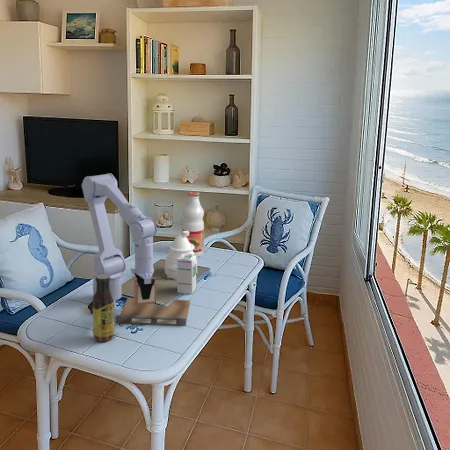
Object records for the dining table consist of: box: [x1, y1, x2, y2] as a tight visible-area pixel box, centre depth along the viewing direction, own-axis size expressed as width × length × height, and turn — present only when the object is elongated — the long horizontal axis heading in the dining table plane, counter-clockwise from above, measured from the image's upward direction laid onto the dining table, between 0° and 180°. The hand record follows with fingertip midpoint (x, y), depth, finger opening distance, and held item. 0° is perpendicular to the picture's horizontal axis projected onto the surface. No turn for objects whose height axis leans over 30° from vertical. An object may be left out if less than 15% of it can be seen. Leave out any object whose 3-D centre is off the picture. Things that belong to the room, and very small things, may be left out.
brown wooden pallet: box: [115, 297, 191, 327], centre depth 164 cm, size 22×18×3 cm
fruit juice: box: [182, 191, 205, 258], centre depth 216 cm, size 9×9×28 cm
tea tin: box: [133, 277, 157, 305], centre depth 160 cm, size 4×6×7 cm
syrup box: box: [176, 254, 197, 296], centre depth 179 cm, size 6×6×14 cm
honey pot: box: [164, 230, 198, 277], centre depth 196 cm, size 13×13×18 cm
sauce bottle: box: [92, 274, 115, 343], centre depth 147 cm, size 7×6×20 cm
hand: (144, 295), depth 160 cm, fingers closed on tea tin, 4 cm apart
